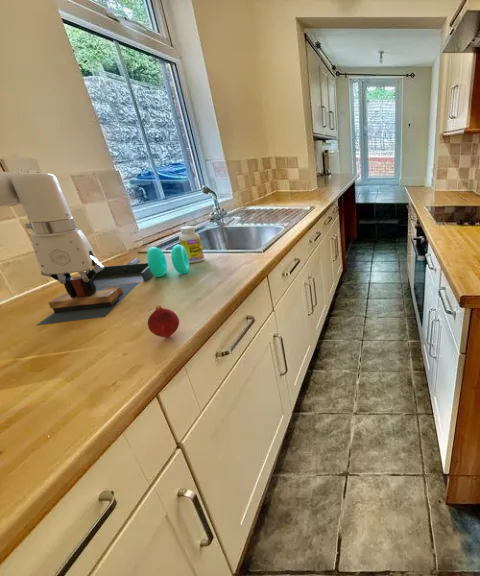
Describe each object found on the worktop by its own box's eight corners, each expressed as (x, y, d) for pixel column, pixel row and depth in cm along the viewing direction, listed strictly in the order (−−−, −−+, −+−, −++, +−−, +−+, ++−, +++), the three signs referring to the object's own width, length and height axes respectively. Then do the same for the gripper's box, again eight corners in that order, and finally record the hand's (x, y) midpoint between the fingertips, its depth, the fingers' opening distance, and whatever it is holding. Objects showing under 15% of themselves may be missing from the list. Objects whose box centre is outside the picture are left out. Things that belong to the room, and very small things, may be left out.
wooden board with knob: (53, 313, 82) (39, 284, 79) (64, 305, 87) (51, 277, 83) (112, 307, 86) (101, 278, 82) (120, 299, 90) (110, 272, 87)
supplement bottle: (191, 264, 117) (182, 230, 112) (181, 261, 121) (172, 228, 115) (208, 259, 123) (200, 226, 117) (198, 256, 126) (190, 224, 121)
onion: (188, 334, 74) (179, 303, 70) (161, 346, 69) (150, 314, 66) (174, 327, 76) (165, 297, 73) (148, 339, 72) (136, 307, 68)
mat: (36, 326, 77) (36, 325, 77) (87, 288, 98) (86, 287, 97) (105, 317, 81) (105, 316, 81) (140, 283, 101) (139, 282, 101)
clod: (98, 299, 90) (96, 293, 89) (109, 293, 94) (106, 287, 93) (113, 299, 90) (110, 292, 89) (123, 293, 94) (120, 287, 93)
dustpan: (145, 282, 102) (142, 272, 101) (81, 288, 98) (77, 278, 96) (165, 262, 120) (162, 253, 119) (111, 266, 115) (108, 258, 114)
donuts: (187, 277, 106) (179, 248, 102) (152, 281, 102) (142, 252, 98) (191, 267, 114) (184, 240, 110) (159, 271, 111) (150, 244, 107)
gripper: (0, 232, 72) (36, 305, 79) (87, 227, 76) (113, 296, 84) (23, 225, 78) (55, 293, 86) (102, 221, 83) (125, 285, 90)
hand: (83, 294), depth 85 cm, fingers closed on wooden board with knob, 2 cm apart
